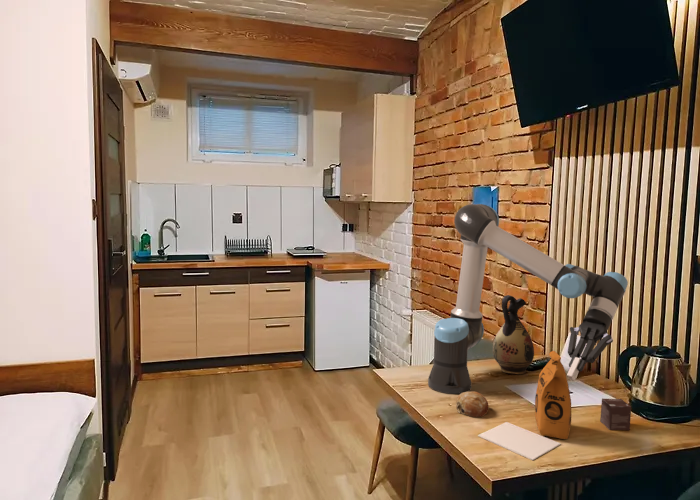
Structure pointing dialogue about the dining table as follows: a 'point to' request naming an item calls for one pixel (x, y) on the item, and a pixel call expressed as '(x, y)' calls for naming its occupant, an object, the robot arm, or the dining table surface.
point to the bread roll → (472, 404)
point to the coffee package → (553, 400)
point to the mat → (519, 440)
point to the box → (615, 414)
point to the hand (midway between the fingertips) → (570, 378)
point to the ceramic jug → (513, 340)
